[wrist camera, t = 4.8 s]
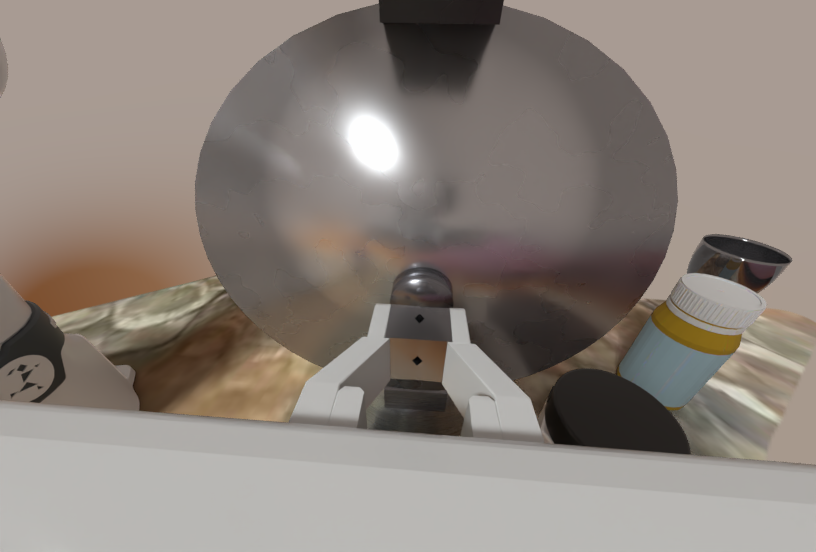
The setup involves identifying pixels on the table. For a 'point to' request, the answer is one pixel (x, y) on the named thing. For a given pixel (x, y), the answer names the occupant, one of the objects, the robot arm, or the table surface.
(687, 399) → the bottle
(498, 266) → the lid
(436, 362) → the robot arm
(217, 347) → the table surface
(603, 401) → the jar
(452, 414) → the cooker pot
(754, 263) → the wine glass
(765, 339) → the table surface
